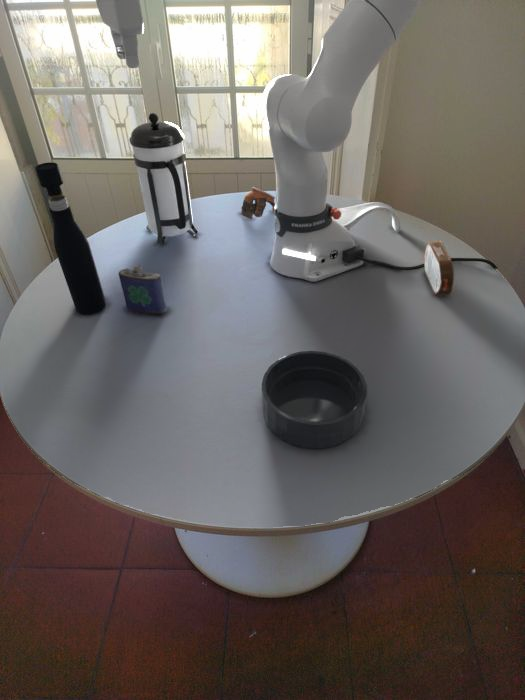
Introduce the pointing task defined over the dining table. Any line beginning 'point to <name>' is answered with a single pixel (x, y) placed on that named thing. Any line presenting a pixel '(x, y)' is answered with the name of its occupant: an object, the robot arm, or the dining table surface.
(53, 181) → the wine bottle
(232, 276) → the dining table surface
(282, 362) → the black screw cap
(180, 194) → the coffee press
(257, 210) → the orange brown figure
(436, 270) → the tin
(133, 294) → the flask
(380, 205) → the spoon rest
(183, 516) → the dining table surface
